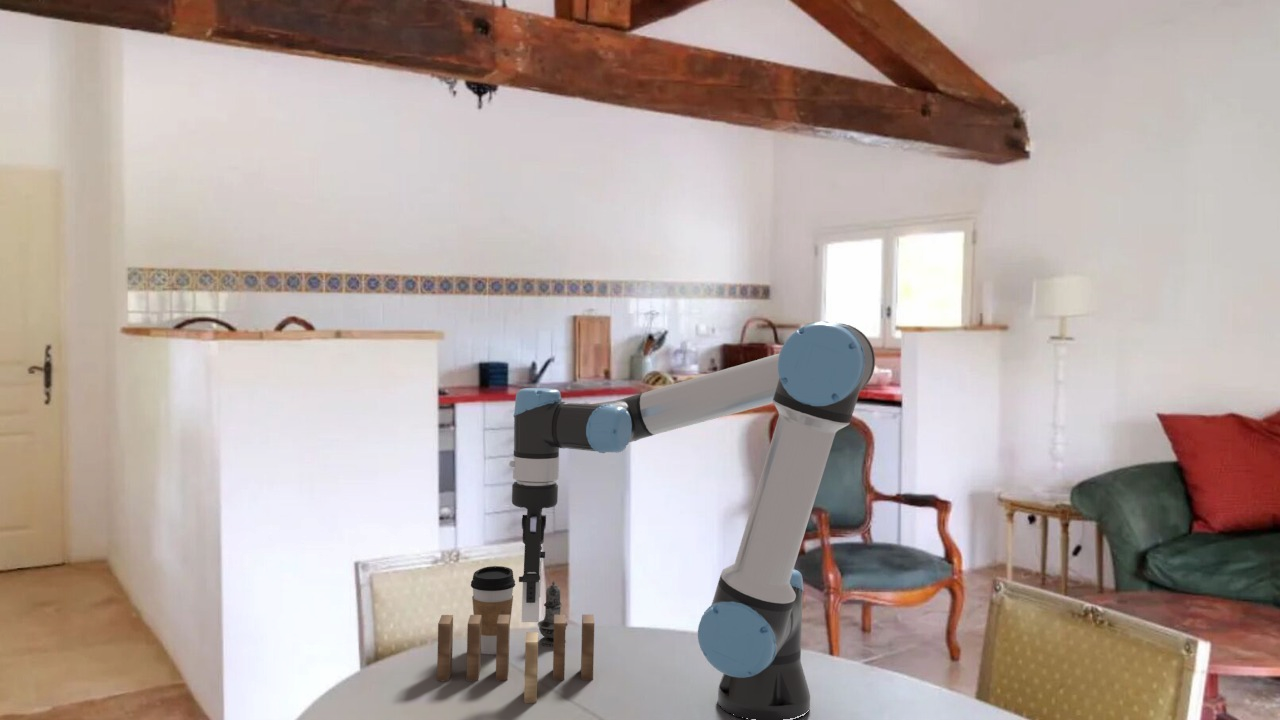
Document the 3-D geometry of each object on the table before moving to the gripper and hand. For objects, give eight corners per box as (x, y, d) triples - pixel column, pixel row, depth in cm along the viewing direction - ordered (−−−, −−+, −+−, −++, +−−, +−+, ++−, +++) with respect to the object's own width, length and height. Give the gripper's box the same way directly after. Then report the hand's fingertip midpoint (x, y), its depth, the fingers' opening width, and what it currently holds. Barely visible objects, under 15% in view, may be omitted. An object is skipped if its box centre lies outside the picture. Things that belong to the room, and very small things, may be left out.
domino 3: (508, 669, 169) (510, 614, 168) (507, 680, 164) (508, 623, 163) (497, 670, 169) (498, 614, 168) (495, 680, 164) (496, 623, 163)
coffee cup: (520, 644, 182) (522, 567, 182) (503, 659, 174) (504, 578, 174) (481, 639, 184) (482, 564, 184) (461, 653, 176) (463, 574, 176)
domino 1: (452, 670, 168) (453, 614, 167) (448, 680, 163) (449, 623, 162) (440, 670, 168) (441, 614, 167) (437, 680, 163) (438, 623, 162)
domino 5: (592, 669, 170) (593, 614, 170) (593, 679, 165) (594, 623, 165) (580, 669, 170) (582, 614, 170) (581, 679, 165) (582, 623, 165)
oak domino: (537, 690, 159) (538, 632, 159) (536, 702, 154) (537, 642, 154) (525, 690, 159) (526, 632, 159) (524, 702, 154) (525, 642, 154)
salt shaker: (569, 637, 187) (570, 578, 187) (564, 647, 181) (565, 585, 181) (540, 636, 188) (541, 576, 187) (534, 645, 182) (535, 584, 181)
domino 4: (564, 669, 170) (565, 614, 169) (564, 679, 165) (565, 623, 164) (553, 669, 169) (554, 614, 169) (552, 679, 164) (554, 623, 164)
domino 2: (480, 670, 168) (481, 614, 168) (478, 680, 163) (479, 623, 163) (469, 670, 168) (470, 614, 168) (466, 680, 163) (467, 623, 163)
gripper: (515, 469, 168) (512, 587, 168) (508, 494, 143) (504, 632, 144) (558, 470, 168) (554, 587, 169) (558, 495, 144) (553, 633, 144)
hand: (531, 608), depth 156 cm, fingers open, 13 cm apart
